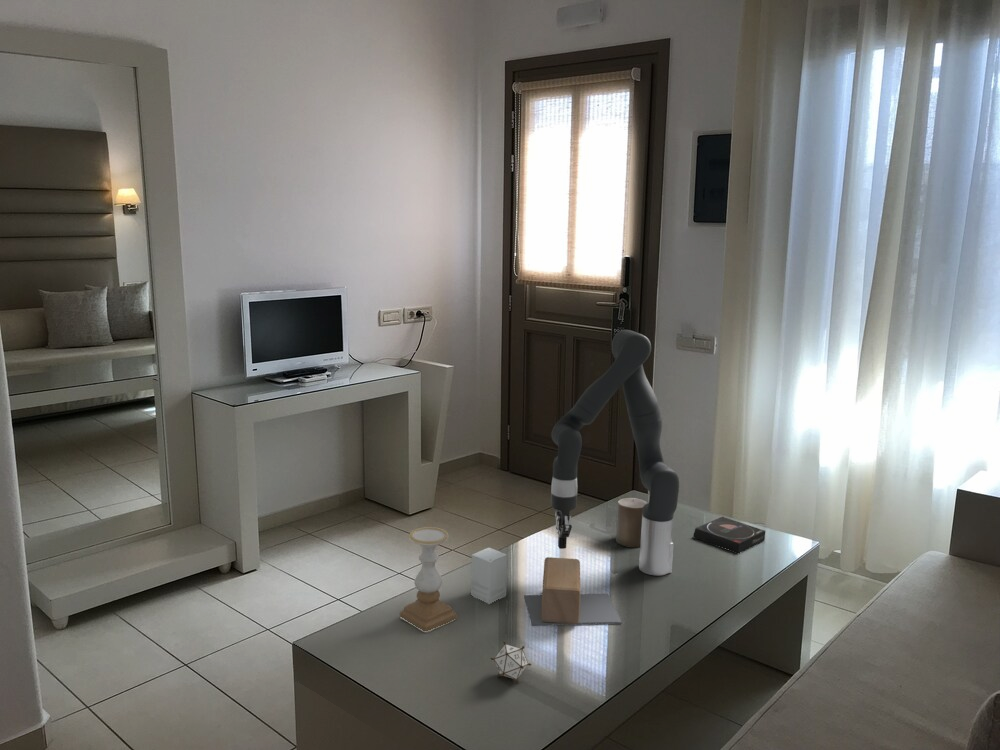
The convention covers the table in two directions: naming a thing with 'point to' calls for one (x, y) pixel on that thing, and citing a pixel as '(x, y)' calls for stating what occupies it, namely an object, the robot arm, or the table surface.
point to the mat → (591, 610)
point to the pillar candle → (629, 522)
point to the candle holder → (428, 583)
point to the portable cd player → (730, 534)
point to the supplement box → (489, 575)
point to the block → (561, 590)
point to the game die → (510, 661)
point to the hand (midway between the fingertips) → (562, 547)
